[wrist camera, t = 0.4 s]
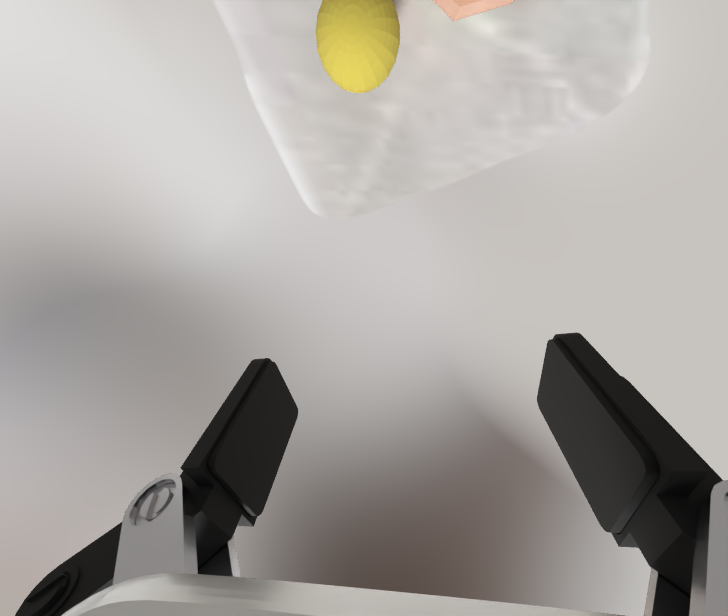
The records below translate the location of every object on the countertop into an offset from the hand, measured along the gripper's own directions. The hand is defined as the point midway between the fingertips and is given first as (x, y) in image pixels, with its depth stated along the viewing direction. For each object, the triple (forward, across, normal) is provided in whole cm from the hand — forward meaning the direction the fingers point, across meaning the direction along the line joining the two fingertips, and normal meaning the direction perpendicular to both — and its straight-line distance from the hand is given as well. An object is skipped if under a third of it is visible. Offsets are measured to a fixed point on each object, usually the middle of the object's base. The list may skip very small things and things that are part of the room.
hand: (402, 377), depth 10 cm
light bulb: (+30, +2, -14) cm, 33 cm away
